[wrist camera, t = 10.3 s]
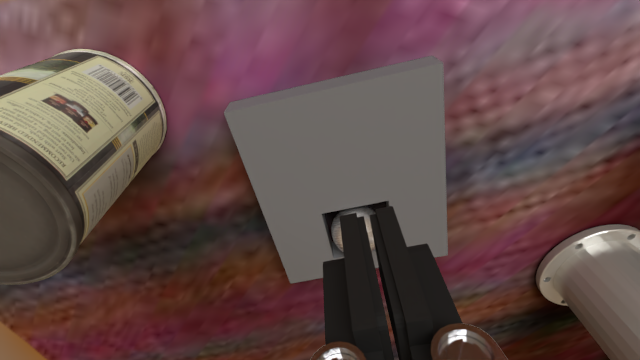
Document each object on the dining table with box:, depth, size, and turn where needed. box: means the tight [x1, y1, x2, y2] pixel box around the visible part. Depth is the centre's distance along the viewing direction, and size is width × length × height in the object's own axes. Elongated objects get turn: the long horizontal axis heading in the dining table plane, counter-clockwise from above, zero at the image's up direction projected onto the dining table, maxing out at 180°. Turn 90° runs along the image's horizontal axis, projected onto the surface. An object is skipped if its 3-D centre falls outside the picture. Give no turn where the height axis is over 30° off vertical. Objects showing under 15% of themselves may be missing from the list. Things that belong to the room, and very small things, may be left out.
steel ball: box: [331, 206, 376, 252], centre depth 33 cm, size 5×5×5 cm
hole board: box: [224, 56, 448, 284], centre depth 32 cm, size 17×20×2 cm
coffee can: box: [0, 49, 167, 285], centre depth 23 cm, size 10×10×14 cm
